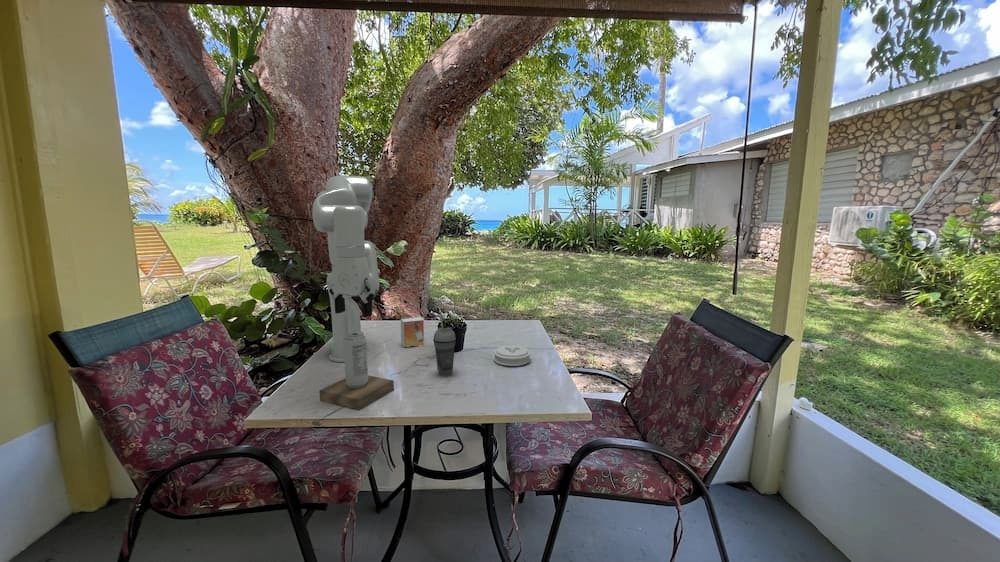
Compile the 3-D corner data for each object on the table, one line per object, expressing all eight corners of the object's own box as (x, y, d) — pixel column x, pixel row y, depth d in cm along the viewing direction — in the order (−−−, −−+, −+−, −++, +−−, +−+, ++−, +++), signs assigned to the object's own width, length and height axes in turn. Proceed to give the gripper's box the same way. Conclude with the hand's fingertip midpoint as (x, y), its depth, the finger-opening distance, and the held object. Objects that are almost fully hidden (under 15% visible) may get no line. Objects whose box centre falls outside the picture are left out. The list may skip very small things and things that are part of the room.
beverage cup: (452, 379, 129) (451, 316, 126) (430, 377, 130) (428, 315, 127) (459, 370, 136) (458, 311, 133) (438, 369, 137) (437, 310, 134)
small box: (404, 348, 159) (403, 321, 158) (401, 344, 164) (400, 318, 163) (424, 345, 162) (423, 319, 161) (421, 342, 168) (420, 316, 166)
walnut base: (320, 400, 114) (319, 390, 113) (356, 382, 126) (356, 373, 126) (359, 410, 108) (358, 399, 107) (393, 390, 121) (393, 380, 120)
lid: (495, 355, 152) (495, 342, 151) (529, 356, 151) (529, 343, 150) (493, 368, 139) (493, 353, 138) (530, 368, 139) (531, 354, 138)
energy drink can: (360, 379, 121) (357, 329, 119) (372, 384, 117) (370, 332, 115) (341, 385, 116) (338, 333, 114) (353, 391, 113) (350, 337, 110)
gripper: (315, 252, 111) (319, 314, 114) (365, 255, 104) (368, 321, 107) (336, 249, 118) (340, 308, 121) (385, 253, 111) (387, 314, 114)
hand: (353, 314), depth 114 cm, fingers open, 9 cm apart
